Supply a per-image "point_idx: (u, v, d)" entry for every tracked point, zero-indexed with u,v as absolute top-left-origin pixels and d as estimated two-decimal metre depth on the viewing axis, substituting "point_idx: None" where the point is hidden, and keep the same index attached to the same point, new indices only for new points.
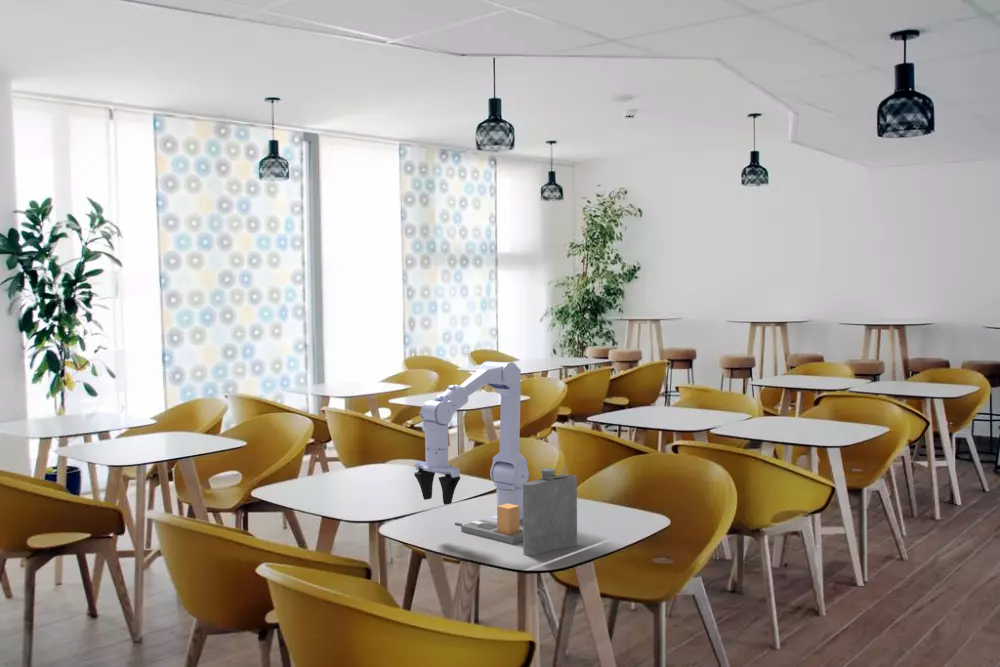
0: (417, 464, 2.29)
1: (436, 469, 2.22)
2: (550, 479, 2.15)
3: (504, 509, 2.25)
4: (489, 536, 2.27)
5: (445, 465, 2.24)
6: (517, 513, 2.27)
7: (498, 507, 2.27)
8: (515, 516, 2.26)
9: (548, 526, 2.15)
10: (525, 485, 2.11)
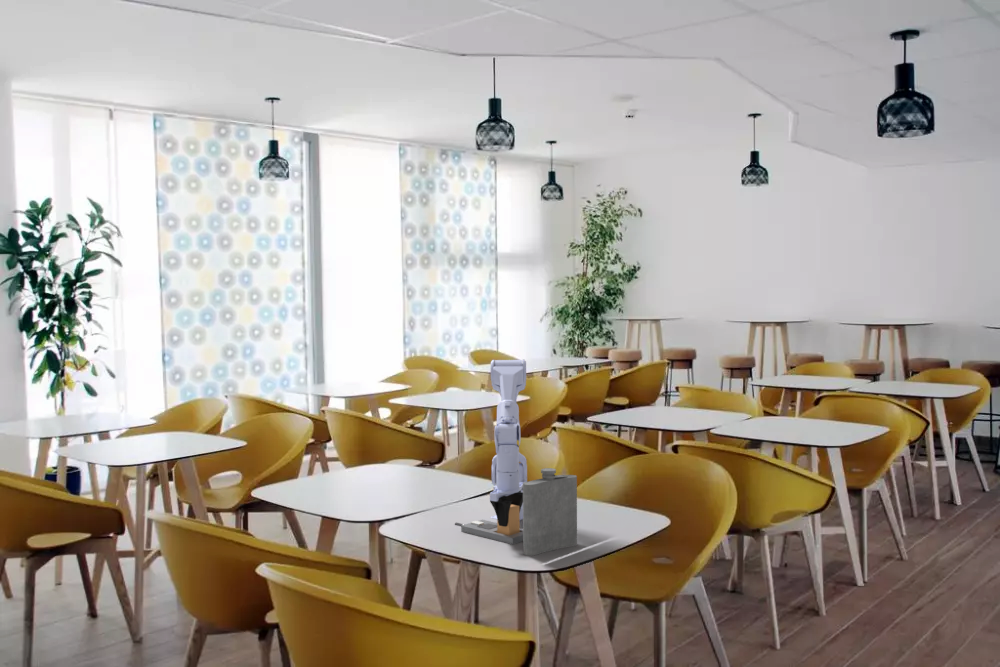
0: None
1: None
2: (550, 479, 2.15)
3: None
4: (489, 536, 2.27)
5: (503, 488, 2.24)
6: (517, 513, 2.27)
7: None
8: (515, 516, 2.26)
9: (548, 526, 2.15)
10: (525, 485, 2.11)
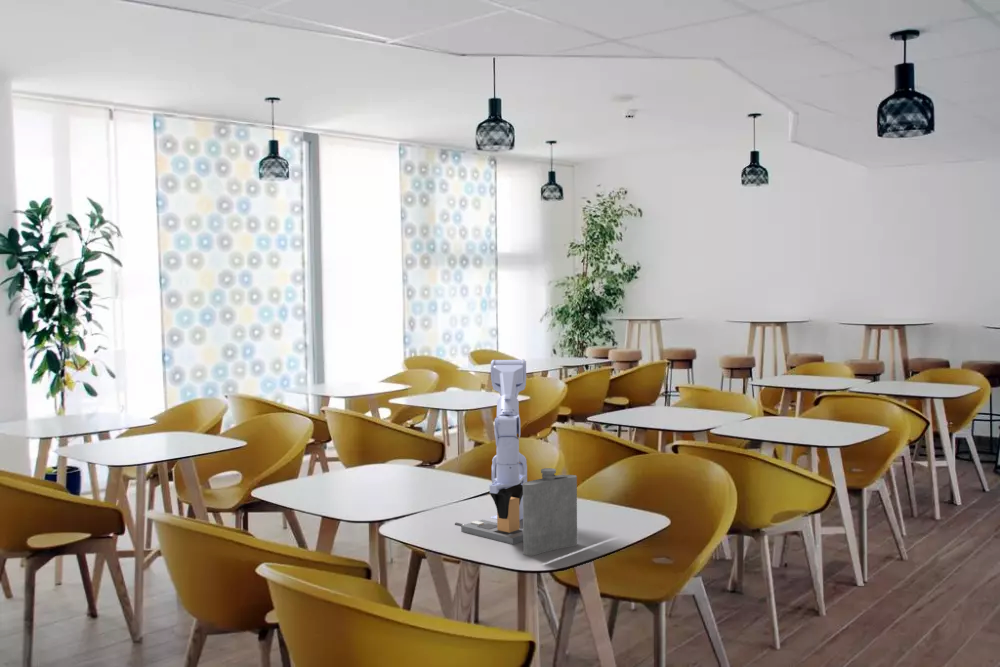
0: None
1: None
2: (550, 479, 2.15)
3: None
4: (489, 536, 2.27)
5: (503, 481, 2.24)
6: (517, 506, 2.27)
7: None
8: (515, 508, 2.26)
9: (548, 526, 2.15)
10: (525, 485, 2.11)
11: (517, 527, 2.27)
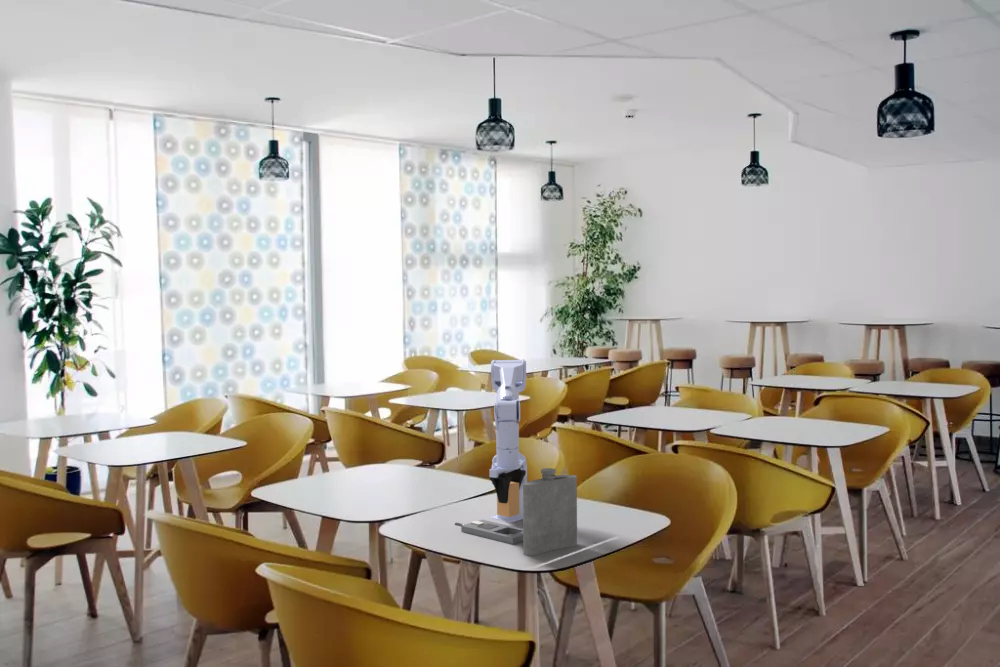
0: None
1: None
2: (550, 479, 2.15)
3: None
4: (489, 536, 2.27)
5: (503, 465, 2.24)
6: (517, 490, 2.26)
7: None
8: (515, 493, 2.26)
9: (548, 526, 2.15)
10: (525, 485, 2.11)
11: (517, 512, 2.27)
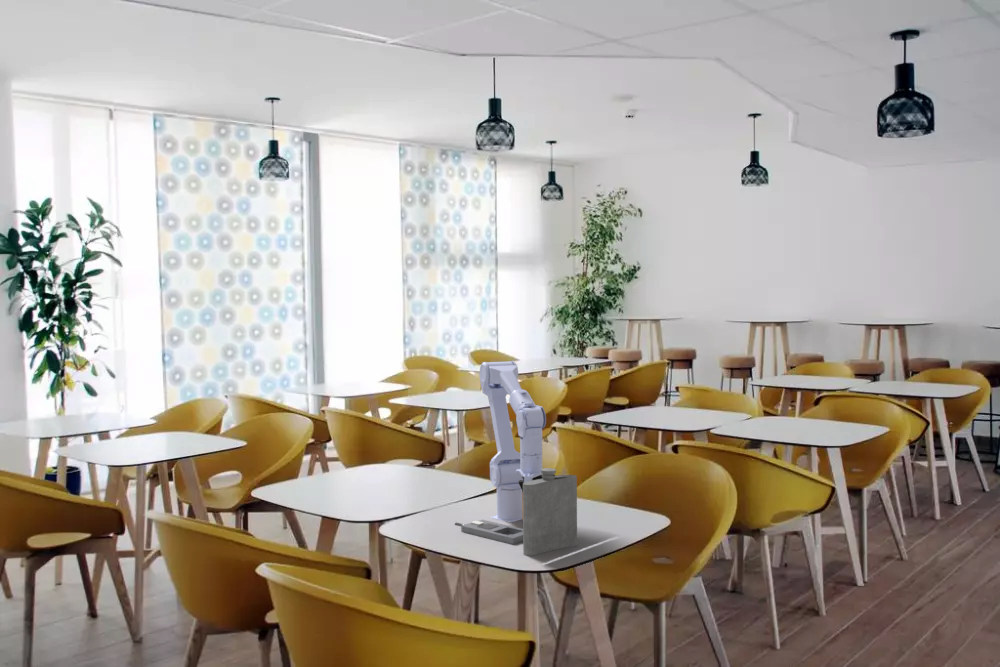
0: None
1: (521, 473, 2.30)
2: (550, 479, 2.15)
3: None
4: (489, 536, 2.27)
5: (531, 471, 2.29)
6: None
7: None
8: None
9: (548, 526, 2.15)
10: (525, 485, 2.11)
11: None
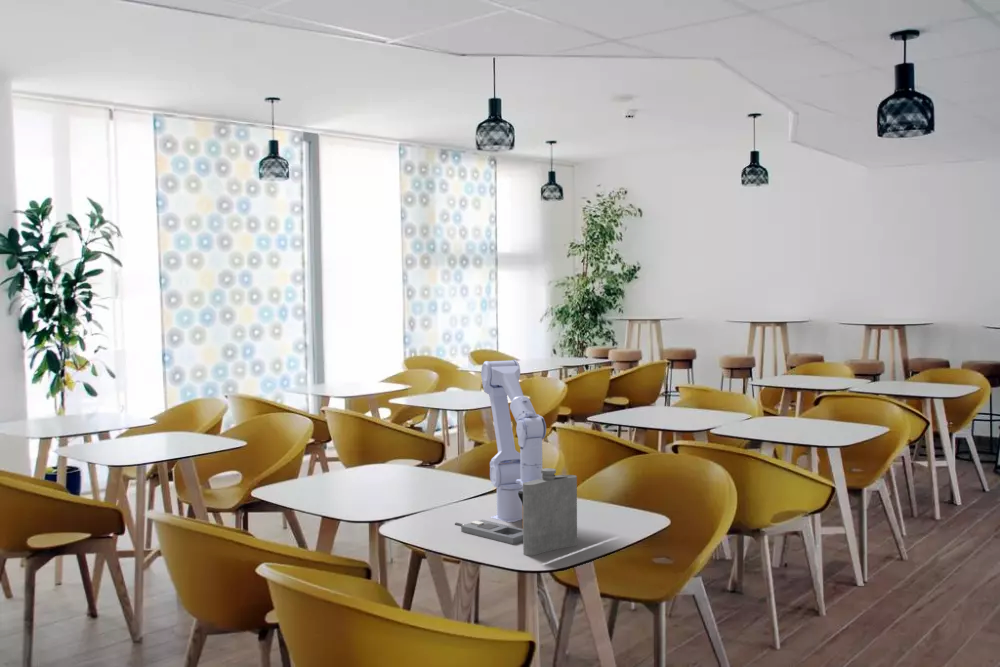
0: None
1: (521, 483, 2.30)
2: (550, 479, 2.15)
3: None
4: (489, 536, 2.27)
5: None
6: None
7: None
8: None
9: (548, 526, 2.15)
10: (525, 485, 2.11)
11: None
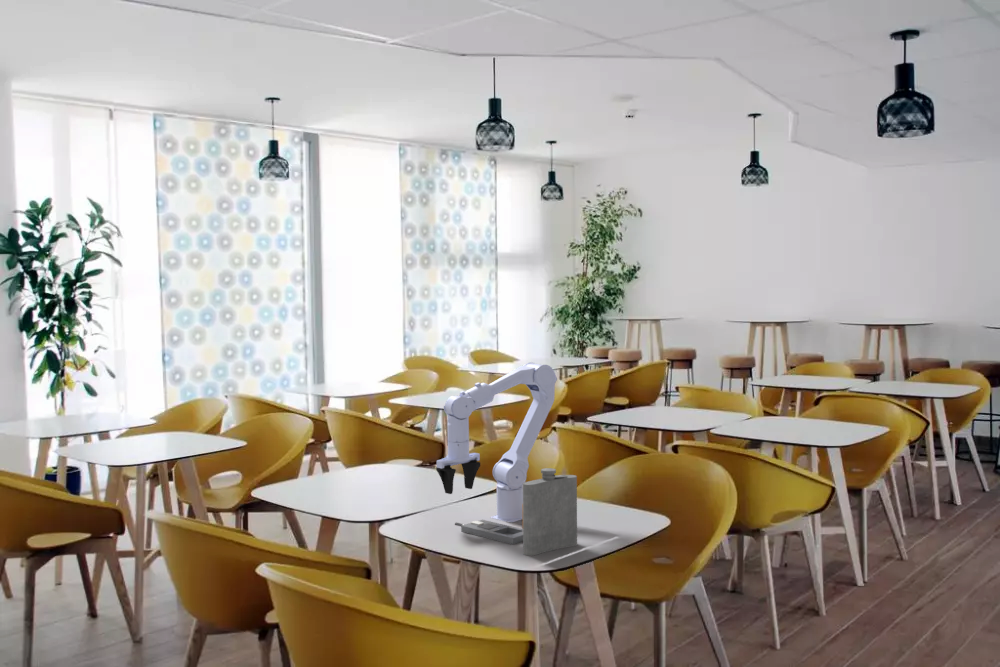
0: None
1: None
2: (550, 479, 2.15)
3: None
4: (489, 536, 2.27)
5: (451, 457, 2.38)
6: None
7: None
8: None
9: (548, 526, 2.15)
10: (525, 485, 2.11)
11: None
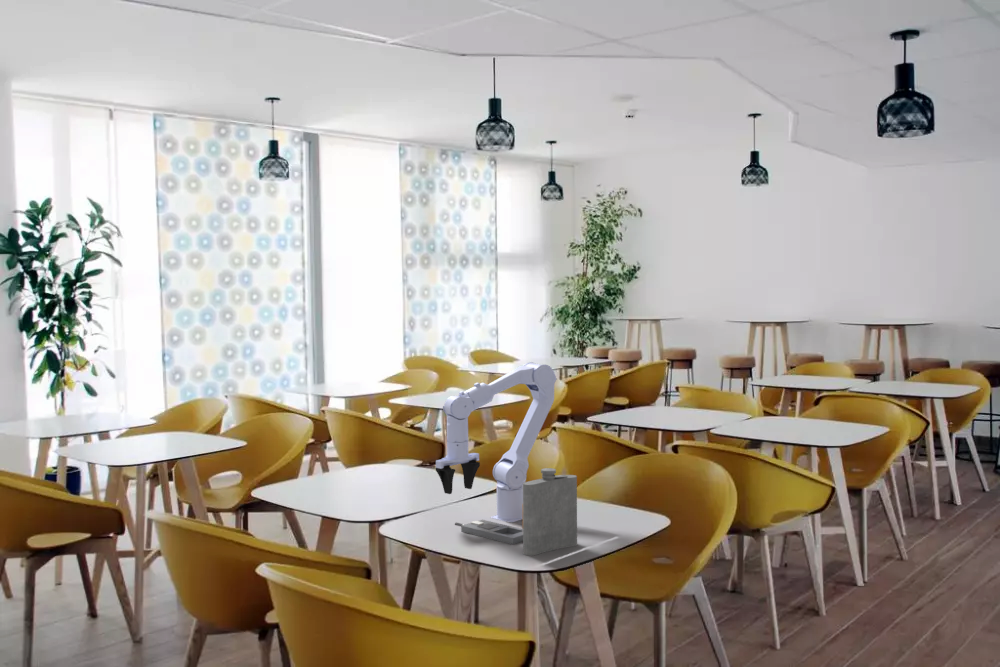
0: None
1: None
2: (550, 479, 2.15)
3: None
4: (489, 536, 2.27)
5: (451, 457, 2.38)
6: None
7: None
8: None
9: (548, 526, 2.15)
10: (525, 485, 2.11)
11: None
